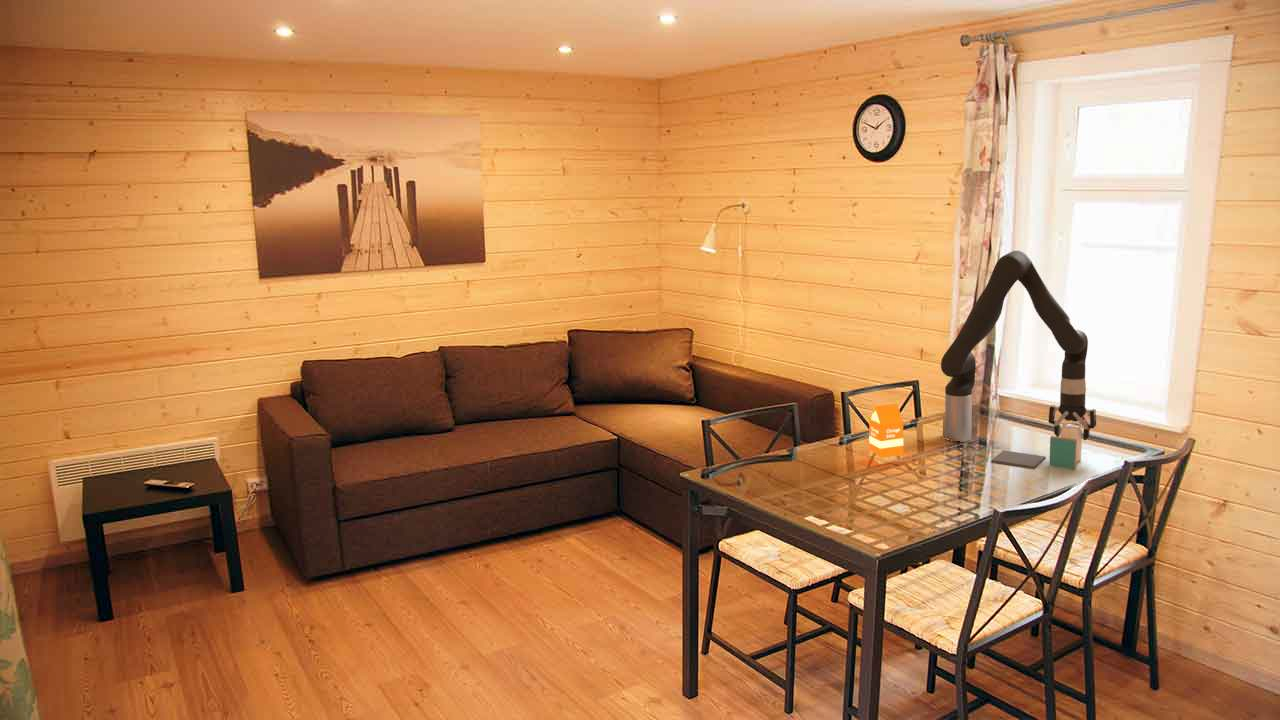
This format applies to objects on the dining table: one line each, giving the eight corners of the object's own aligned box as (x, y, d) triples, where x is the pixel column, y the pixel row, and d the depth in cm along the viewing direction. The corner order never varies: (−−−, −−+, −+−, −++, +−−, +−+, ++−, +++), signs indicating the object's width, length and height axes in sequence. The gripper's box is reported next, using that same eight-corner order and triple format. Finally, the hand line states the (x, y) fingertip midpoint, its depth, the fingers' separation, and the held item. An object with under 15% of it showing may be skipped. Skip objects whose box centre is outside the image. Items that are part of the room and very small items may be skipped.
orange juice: (903, 462, 311) (903, 406, 307) (880, 465, 309) (880, 409, 305) (891, 455, 319) (891, 400, 314) (869, 458, 317) (868, 403, 312)
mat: (991, 462, 306) (991, 459, 306) (1003, 452, 315) (1003, 450, 314) (1034, 468, 297) (1034, 466, 297) (1045, 458, 306) (1045, 456, 306)
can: (1076, 456, 306) (1078, 422, 304) (1084, 462, 300) (1085, 427, 298) (1056, 456, 307) (1058, 422, 305) (1063, 462, 301) (1065, 428, 298)
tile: (1049, 465, 299) (1050, 436, 297) (1050, 464, 300) (1051, 436, 298) (1075, 469, 294) (1076, 440, 292) (1076, 468, 295) (1077, 439, 293)
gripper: (1046, 391, 300) (1045, 438, 303) (1093, 395, 291) (1091, 443, 294) (1053, 386, 306) (1052, 432, 309) (1099, 390, 297) (1097, 437, 300)
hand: (1071, 437), depth 302 cm, fingers open, 8 cm apart
